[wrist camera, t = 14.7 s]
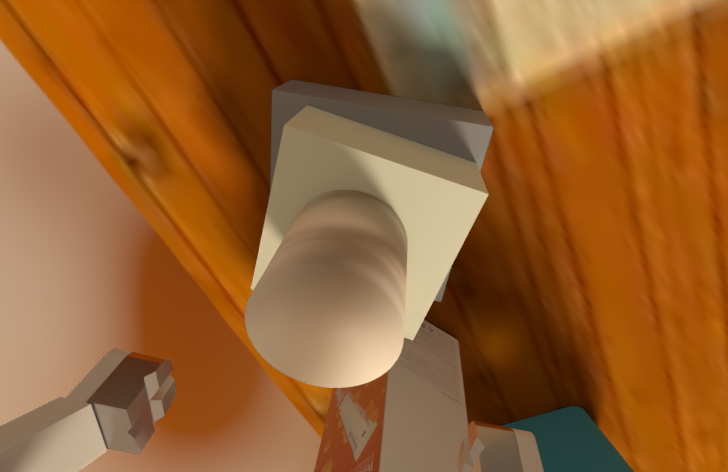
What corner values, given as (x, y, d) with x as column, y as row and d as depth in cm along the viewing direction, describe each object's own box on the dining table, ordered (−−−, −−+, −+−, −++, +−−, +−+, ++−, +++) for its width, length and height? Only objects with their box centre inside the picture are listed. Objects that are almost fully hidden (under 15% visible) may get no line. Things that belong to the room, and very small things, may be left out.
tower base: (482, 109, 23) (493, 127, 19) (438, 266, 28) (440, 302, 25) (294, 77, 23) (272, 89, 20) (286, 239, 29) (268, 270, 25)
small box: (393, 298, 30) (378, 476, 18) (460, 339, 31) (485, 530, 19) (337, 358, 33) (296, 536, 22) (398, 393, 34) (390, 578, 23)
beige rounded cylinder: (430, 227, 18) (436, 315, 13) (371, 307, 21) (356, 407, 15) (321, 167, 17) (279, 235, 12) (275, 258, 20) (224, 347, 15)
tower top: (476, 162, 20) (488, 194, 17) (413, 294, 25) (413, 340, 21) (307, 104, 20) (284, 124, 16) (274, 249, 24) (250, 288, 21)
